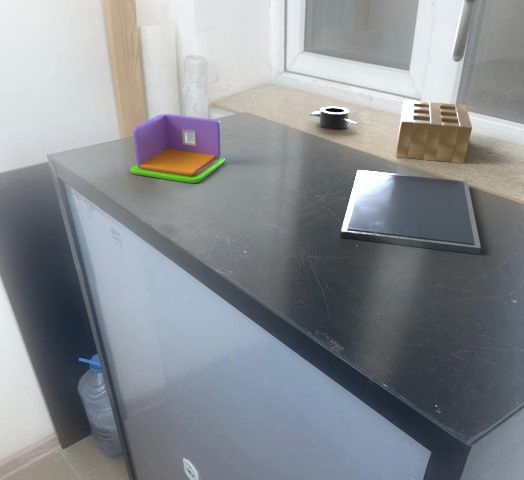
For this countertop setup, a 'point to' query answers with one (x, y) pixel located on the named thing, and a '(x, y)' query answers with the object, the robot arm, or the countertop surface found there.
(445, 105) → the pen stand
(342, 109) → the black ring with handles
